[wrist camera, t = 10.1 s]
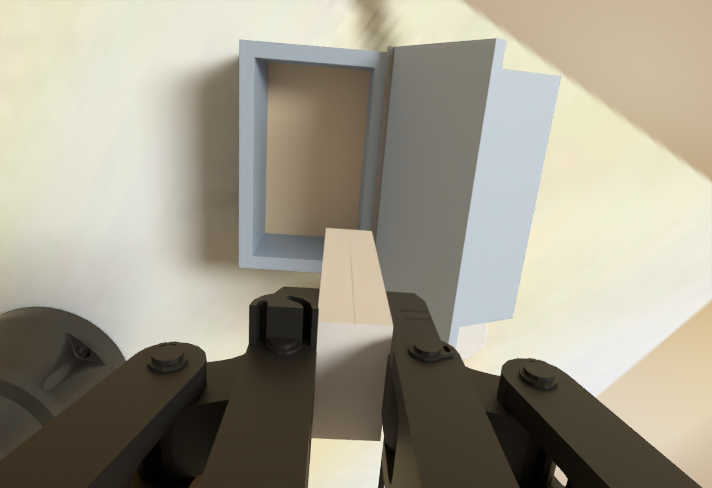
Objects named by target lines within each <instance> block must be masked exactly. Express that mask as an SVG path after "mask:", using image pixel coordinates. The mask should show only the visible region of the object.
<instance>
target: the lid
mask: <svg viewBox="0 0 712 488" xmlns="http://www.w3.org/2000/svg"><path fill="white" fill-rule="evenodd" d="M505 45H506V40H503V39H497V38H495V39H483V40H471V41H459V42H447V43H435V44H423V45H411V46H399V47H388V50H387V61H386V72H385V83H384V94H383V105H382V115H381V126H380V137H379V148H378V159H377V170H376V180H375V191H374V202H373V213H372V224H371V231H372V234H373V238H374V243H375V247H376V251H377V256H378V260H379V265H380V269H381V274H382V278H383V282H384V287H385V291H389V292H406V293H415V294H416V295H418V296H419V297H420V298H421V299H423V300H424V301H425V302H426V305H427V307H428V309H429V313H430V314H431V317H432V321H433V322H434V324H435V327H436V329H437V332H438V334H439V337H440V339H441V341H444V342H446V343H448V344H449V345H451V346H453V347H454V348H455V347H456V345H457V339H458V333H459V327H464V326H470V325H476V324H482V323H488V322H493V321H499V320H505V319H511V318H512V317H513V312H514V307H515V302H516V297H517V292H518V287H519V282H520V277H521V272H522V268H523V263H524V258H525V253H526V248H527V243H528V238H529V233H530V228H531V223H532V218H533V213H534V208H535V203H536V198H537V193H538V188H539V183H540V178H541V173H542V168H543V163H544V158H545V153H546V148H547V143H548V138H549V133H550V128H551V123H552V118H553V113H554V108H555V103H556V98H557V93H558V88H559V83H560V78H561V76H556V75H547V74H539V73H531V72H523V71H514V70H506V69H502V63H503V57H504V51H505Z"/></svg>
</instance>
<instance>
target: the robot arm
mask: <svg viewBox="0 0 712 488" xmlns="http://www.w3.org/2000/svg"><path fill="white" fill-rule="evenodd" d="M382 424H383V432H384V442H383V450H382V459H381V468H380V476H379V485H378V488H384V485H385V488H702V487H701V486H700V485H698V484H697V483H696V482H695V481H694V480H692V479H691V478H690V477H689V476H688V475H686V474H685V473H684V472H683V471H682V470H681V469H679V468H678V467H677V466H676V465H675V464H673V463H672V462H671V461H670V460H669V459H667V458H666V457H665V456H664V455H663V454H662V453H660V452H659V451H658V450H657V449H655V448H654V447H653V446H652V445H651V444H650V443H648V442H647V441H646V440H645V439H644V438H643V437H641V436H640V435H639V434H638V433H637V432H635V431H634V430H633V429H632V428H631V427H629V426H628V425H627V424H626V423H625V422H623V421H622V420H621V419H620V418H619V417H618V416H616V415H615V414H614V413H613V412H612V411H610V410H609V409H608V408H607V407H606V406H604V405H603V404H602V403H601V402H599V400H597V399H596V398H595V397H594V396H593V395H591V394H590V393H589V392H588V391H587V390H585V389H584V388H583V387H582V386H581V385H580V384H578V383H577V382H576V381H575V380H574V379H572V378H571V377H570V376H569V375H568V374H566V373H565V372H563V371H562V370H560V369H559V368H557V367H555V366H552V365H550V364H548V363H546V362H544V361H541V360H536V359H531V358H528V359H519V358H517V359H513V360H509V361H507V362H506V363H505V364H504V365H503V366H502V370H501V375H500V376H497V375H492V374H488V373H484V372H480V371H476V370H473V369H470V368H468V367H465V365H464V363H463V361H462V358H461V356H460V354H459V353H458V352H457V350H456V349H455V348H454V347H453V346H451V345H449V344H448V343H446V342H444V341H441V339H440V337H439V334H438V332H437V329H436V327H435V324H434V322H433V321H432V317H431V314H430V313H429V309H428V307H427V305H426V302H425V301H424V300H423V299H421V298H420V297H419V296H418V295H416V294H415V293H406V292H389V291H385V287H384V282H383V278H382V274H381V269H380V265H379V260H378V256H377V251H376V247H375V243H374V238H373V234H372V231H365V230H350V229H334V228H326V233H325V243H324V253H323V263H322V273H321V282H320V289H315V288H298V287H282V288H281V289H280V290H278V291H277V292H275V293H274V294H269V295H264V296H261V297H259V298H257V299H255V300H254V301H253V302H252V303H251V304H250V305H249V345H248V348H247V351H246V353H245V354H243V355H241V356H238V357H235V358H232V359H227V360H222V361H214V362H207V359H206V354H205V352H204V351H203V350H202V349H201V348H200V347H198V346H195V345H192V344H189V343H180V342H169V343H167V342H165V343H160V344H158V345H154V346H151V347H148V348H145V349H144V350H142V351H140V352H138V353H137V354H135V355H134V356H132V357H131V358H130V359H129V360H127V361H126V360H125V358H124V356H123V355H122V353H121V351H120V350H119V348H118V347H117V346H116V344H115V343H114V342H113V341H112V340H111V338H110V337H109V336H107V335H106V334H105V333H104V332H103V331H102V330H101V329H99V328H98V327H97V326H95V325H94V324H92V323H91V322H89V321H87V320H86V319H84V318H82V317H80V316H77V315H75V314H72V313H69V312H66V311H63V310H59V309H54V308H46V307H28V308H21V309H17V310H13V311H10V312H7V313H5V314H3V315H1V316H0V488H308V477H309V464H310V450H311V438H321V439H345V440H369V441H380V439H381V430H382ZM556 465H557V466H558V467H559V468H560V469H561V470H562V471H563V473H564V474H565V475H566V477H567V478H568V481H567V484H566V486H565V487H564V486H563V485H562V484H561V483H560V482H559V481H558V480H557V479H556V477H555V476H554V472H555V468H556Z"/></svg>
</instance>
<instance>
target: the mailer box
mask: <svg viewBox="0 0 712 488" xmlns="http://www.w3.org/2000/svg"><path fill="white" fill-rule="evenodd" d="M386 61H387V52H377V51H366V50H354V49H343V48H331V47H320V46H308V45H296V44H285V43H273V42H262V41H250V40H239V268H253V269H268V270H283V271H299V272H314V273H322V263H323V253H324V243H325V233H326V228H334V229H350V230H365V231H371V224H372V213H373V202H374V191H375V180H376V170H377V159H378V148H379V137H380V126H381V115H382V105H383V94H384V83H385V72H386Z"/></svg>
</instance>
